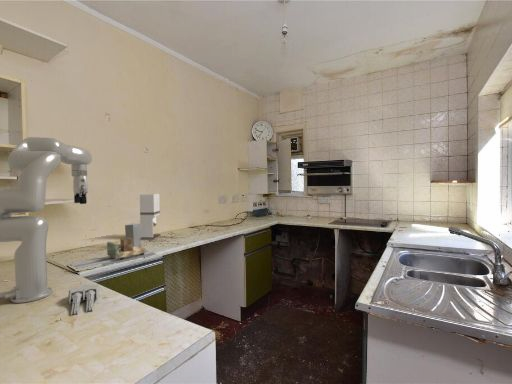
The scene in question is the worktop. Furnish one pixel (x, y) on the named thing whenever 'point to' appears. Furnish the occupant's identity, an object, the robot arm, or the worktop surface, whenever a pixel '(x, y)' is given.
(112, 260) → the rail track
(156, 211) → the white square column
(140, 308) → the worktop surface
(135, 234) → the skincare box
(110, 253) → the multicoloured piece
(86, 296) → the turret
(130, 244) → the walnut block
